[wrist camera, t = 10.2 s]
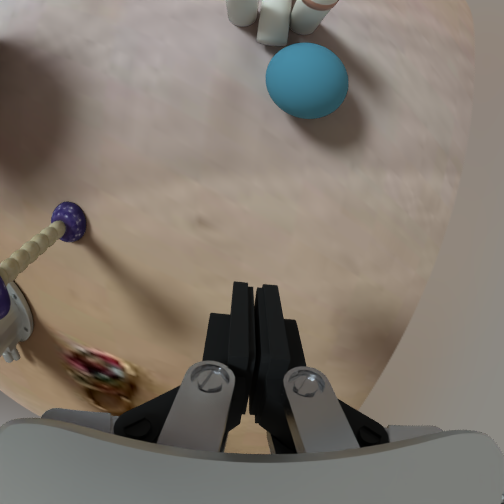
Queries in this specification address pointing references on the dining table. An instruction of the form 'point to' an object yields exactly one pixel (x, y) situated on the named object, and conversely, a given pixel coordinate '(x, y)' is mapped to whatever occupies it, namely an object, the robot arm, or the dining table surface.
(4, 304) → the toy lamp
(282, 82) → the ball
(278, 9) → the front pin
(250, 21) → the pin
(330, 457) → the robot arm
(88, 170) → the dining table surface
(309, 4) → the pin
